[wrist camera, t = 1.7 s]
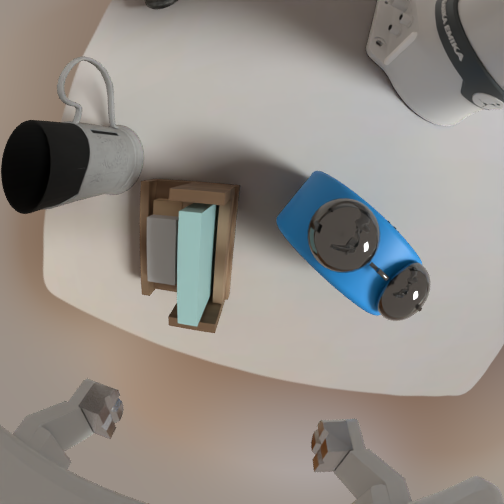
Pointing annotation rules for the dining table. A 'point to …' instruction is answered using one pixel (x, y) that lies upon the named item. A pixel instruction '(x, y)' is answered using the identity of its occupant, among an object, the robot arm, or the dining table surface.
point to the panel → (195, 260)
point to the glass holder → (69, 157)
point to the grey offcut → (162, 249)
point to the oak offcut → (167, 207)
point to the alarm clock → (355, 248)
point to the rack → (227, 216)
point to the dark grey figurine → (159, 3)
